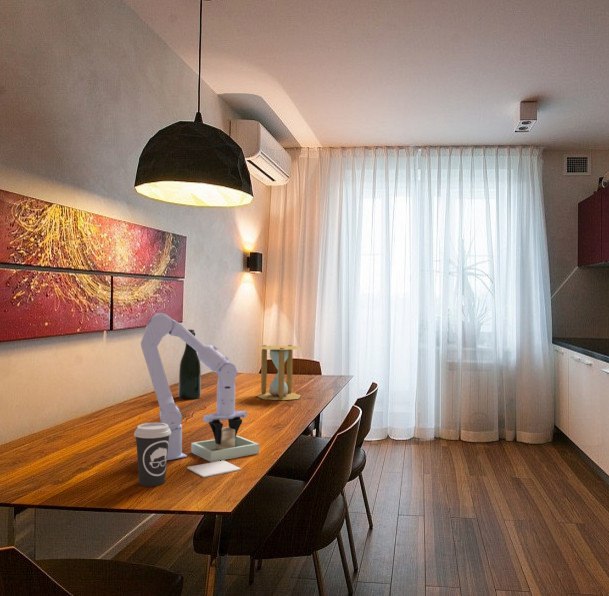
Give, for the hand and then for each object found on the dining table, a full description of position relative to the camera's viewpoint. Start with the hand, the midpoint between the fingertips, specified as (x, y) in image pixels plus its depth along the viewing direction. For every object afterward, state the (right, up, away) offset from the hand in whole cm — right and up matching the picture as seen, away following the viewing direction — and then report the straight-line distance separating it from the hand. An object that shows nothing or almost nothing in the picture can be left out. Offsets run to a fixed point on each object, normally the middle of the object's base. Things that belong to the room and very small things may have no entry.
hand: (225, 442), depth 180 cm
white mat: (-1, -3, -17) cm, 17 cm away
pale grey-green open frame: (0, -3, 0) cm, 3 cm away
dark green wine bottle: (-30, -3, +95) cm, 100 cm away
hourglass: (+12, -3, +102) cm, 103 cm away
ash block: (0, -2, 0) cm, 2 cm away
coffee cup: (-15, -3, -29) cm, 33 cm away
